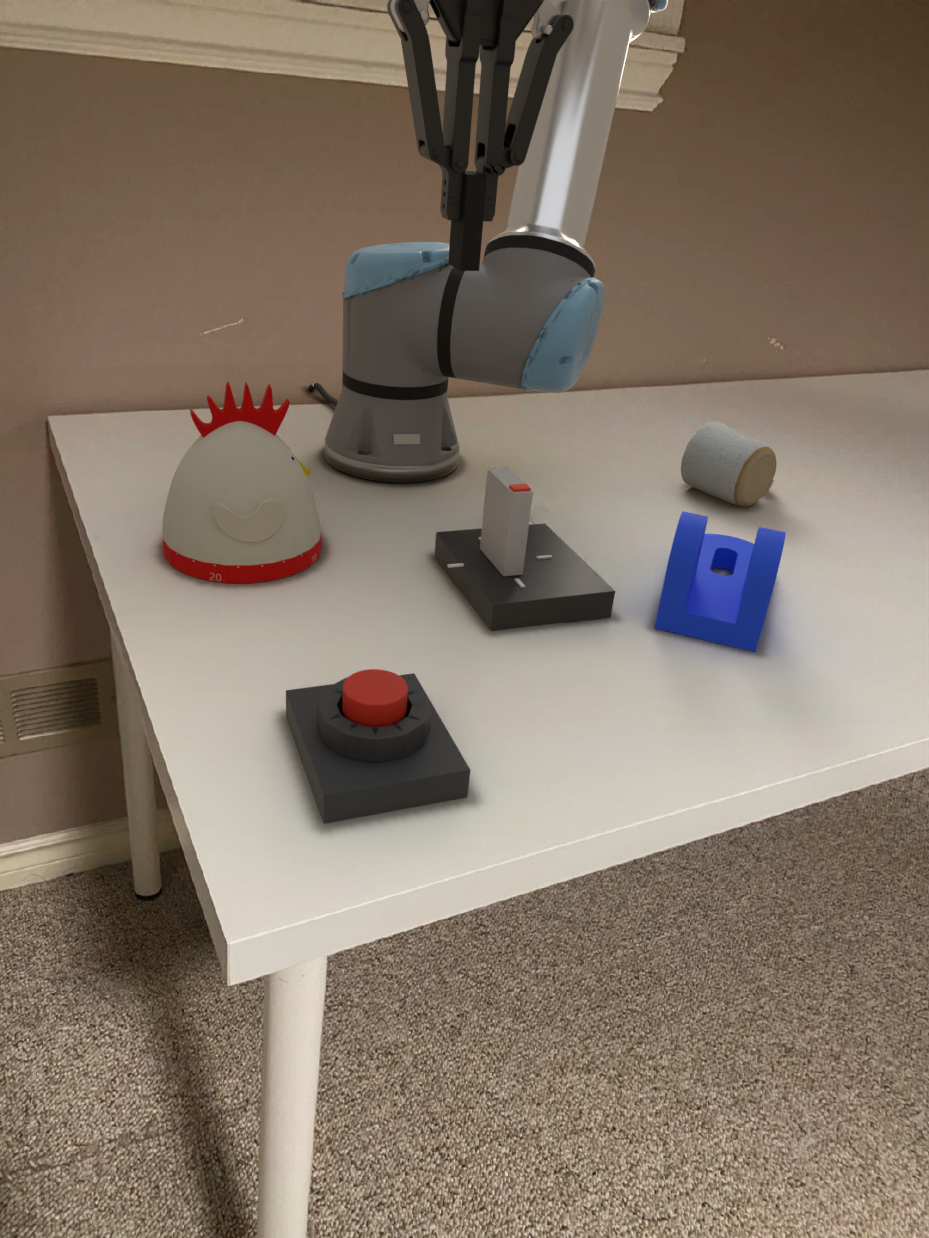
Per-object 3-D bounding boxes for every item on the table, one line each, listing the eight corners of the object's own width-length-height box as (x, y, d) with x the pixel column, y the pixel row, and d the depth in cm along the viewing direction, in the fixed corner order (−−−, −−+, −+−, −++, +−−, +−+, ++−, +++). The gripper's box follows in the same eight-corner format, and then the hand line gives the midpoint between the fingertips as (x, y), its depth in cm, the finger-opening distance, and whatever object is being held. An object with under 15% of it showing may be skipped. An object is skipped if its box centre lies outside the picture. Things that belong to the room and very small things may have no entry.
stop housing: (285, 716, 64) (285, 666, 62) (412, 698, 67) (415, 650, 65) (323, 824, 55) (324, 770, 53) (467, 797, 58) (473, 745, 56)
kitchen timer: (332, 578, 82) (335, 408, 74) (165, 588, 78) (151, 410, 70) (308, 513, 93) (308, 361, 86) (162, 519, 89) (149, 360, 82)
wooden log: (733, 515, 102) (751, 447, 98) (673, 490, 107) (687, 424, 103) (787, 498, 108) (805, 433, 104) (727, 475, 113) (743, 412, 110)
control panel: (420, 557, 87) (421, 531, 85) (541, 546, 91) (545, 521, 90) (475, 633, 75) (478, 604, 74) (611, 617, 80) (616, 589, 78)
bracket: (755, 652, 77) (783, 551, 72) (654, 628, 79) (675, 529, 74) (769, 564, 92) (792, 477, 87) (683, 546, 94) (702, 460, 89)
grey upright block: (479, 548, 83) (487, 465, 80) (498, 547, 84) (507, 464, 80) (503, 576, 79) (513, 490, 75) (522, 574, 80) (533, 489, 76)
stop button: (335, 696, 60) (335, 673, 59) (395, 687, 61) (397, 665, 61) (351, 732, 57) (352, 709, 56) (414, 723, 58) (416, 699, 57)
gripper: (559, -103, 65) (522, 259, 77) (376, -133, 60) (366, 256, 72) (611, -116, 59) (562, 278, 71) (412, -150, 54) (395, 276, 66)
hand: (463, 267), depth 72 cm, fingers closed
